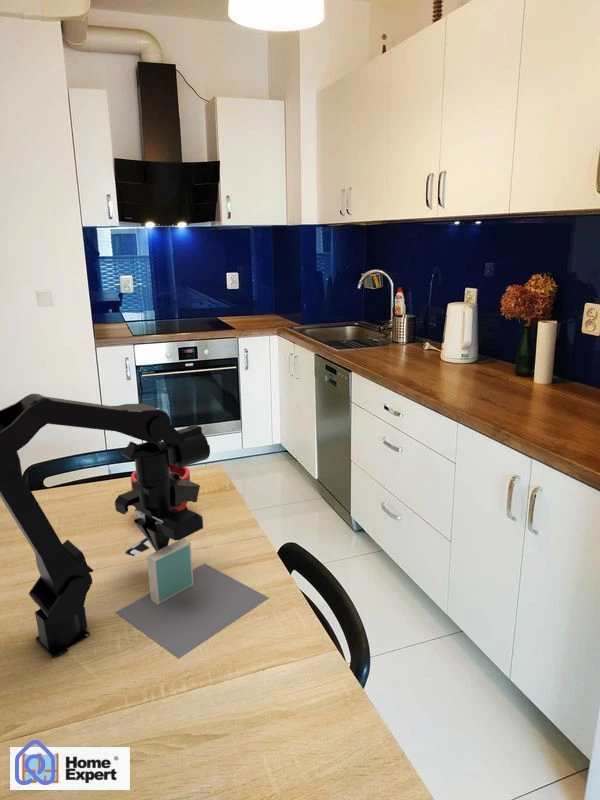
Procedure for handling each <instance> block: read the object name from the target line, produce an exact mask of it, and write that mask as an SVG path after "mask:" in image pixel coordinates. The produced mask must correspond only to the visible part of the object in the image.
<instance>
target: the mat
mask: <svg viewBox="0 0 600 800" xmlns="http://www.w3.org/2000/svg"><path fill="white" fill-rule="evenodd" d="M192 571H193V585H191V586H190V587H188V588H186V589H184V590H183V591H181V592H179V593H177V594H176V595H174V596H172V597H170V598H169V599H167V600H165V601H163V602H162V603H160V604H158V605H157V604H156V603H154V602H153V601H151V595H150V593H148V594H146V595H145V596H142V597H141V598H138V599H137V600H135V601H133V602H131V603H130V604H128V605H125V606H124V607H122V608H121V609H118V610H117V611H115V612H114V613H115V614H117V615H118V616H119V617H121V618H123V620H125V621H126V622H128V623H129V624H130V625H132V626H133V627H134V628H136V629H137V630H139V631H140V632H141V633H142V634H144V635H145V636H147V637H148V638H150V639H151V640H152V641H154V642H155V643H156V644H158V645H159V646H160V647H162V648H163V649H164V650H166V651H167V652H169V654H171V655H172V656H174V657H175V658H177V659H178V660H179V659H181V658H182V657H184V656H185V655H186V654H188V653H190V652H191V651H193V650H194V649H196V648H197V647H199V646H200V645H201V644H203V643H205V642H206V641H208V640H209V639H210V638H212V637H214V636H215V635H216V634H218V633H219V632H221V631H222V630H224V629H226V628H227V627H228V626H230V625H232V624H233V623H234V622H236V621H238V620H239V619H241V618H243V616H246V614H248V613H249V612H251V611H253V609H255V608H257V607H259V606H260V605H261V604H263V603H264V602H265V601H267V600H269V599H270V597H269V596H267V595H265V594H263V593H261V592H259V591H257V590H255V589H253V588H252V587H251V586H248V585H246V584H244V583H243V582H240V581H239V580H237V579H236V578H235V579H234V578H233V577H231V576H229V575H228V574H225V573H223V572H221V571H219V569H216V568H214V567H212V566H210V565H208V564H206V563H203V564H201V565H199V566H197V567H195V568H194V569H192Z"/></svg>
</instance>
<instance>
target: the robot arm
mask: <svg viewBox="0 0 600 800" xmlns="http://www.w3.org/2000/svg"><path fill="white" fill-rule="evenodd" d="M171 423H172V422H171V418H170V416H169V414H168V412H166V411H164V410H162V409H159V408H157V407H153V406H150V405H149V404H146V403H125V404H120V405H106V404H99V403H91V402H87V401H77V400H72V399H71V400H70V399H65V398H57V397H50V396H44V395H42V394H40V393H30V394H27V395H26V396H24V397H23V398H21V399H19V401H16V402H14V403H13V404H11V405H8V406H6V407H4V408H2V409H0V499H1V500H2V502H3V503H4V506H5V507H6V508H7V510H8V512H9V513H10V515H11V517H12V518H13V519H14V521H15V523H16V525H17V526H18V528H19V529H20V531H21V532H22V534H23V536H24V537H25V539H26V541H27V542H28V544H29V546H30V548H31V549H32V551H33V553H34V555H35V561H36V566H37V570H38V572H39V575H40V576H39V578H38V579H37V581H36V582H35V583H34V585H33V587H31V589H30V590H29V592H28V595H29V597H30V598H31V600H32V601H33V602H34V603H35V604H36V605H37V606H38V607H39V609H37V610H36V611H34V616H35V621H36V625H37V631H38V636H36V637H35V642H36V643H37V644H38V645H39V646H40V647H41V648H42V649H43V650H44V651H46V653H47V654H49V655H50V656H51V657H52V658H56V657H58V656H60V655H62V654H63V653H66V652H68V651H69V648H71V647H73V646H74V645H76V644H78V643H80V642H82V641H83V640H85V639H87V638H88V637H90V636H91V632H89V631H88V630H87V629H88V626H89V625H88V622H87V614H86V613H87V612H86V607H85V602H86V598H87V593H88V592H89V590H90V588H91V585H93V577H92V575H91V573H93V572H94V569H93V568H92V567H90V565H88V563H87V561H86V557H85V555H84V552H82V551H81V549H79V547H77V546H76V545H75V544H74V543H72V542H71V540H69V539H66V540H65V541H64V542H61V539H60V538H59V536H58V535H57V533H56V531H55V529H54V527H53V526H52V524H51V522H50V521H49V519H48V518H47V516H46V514H45V512H44V511H43V509H42V507H41V506H40V504H39V502H38V501H37V499H36V497H35V495H34V494H33V492H32V490H31V488H30V486H29V485H28V483H27V482H26V480H25V478H24V476H23V473H22V464H21V459H20V456H19V453H18V451H20V450H21V449H22V448H24V447H26V445H28V444H29V442H30V441H31V440H32V439H33V438H34V437H35V436H36V434H37V433H38V432H40V430H41V429H43V428H44V427H45V426H46V425H56V426H65V427H73V428H83V429H91V430H101V431H109V432H116V433H120V434H123V435H126V436H128V437H132V438H135V439H137V440H141V441H143V442H141V443H135V442H134V441H129V443H128V445H127V446H126V447H125V448H124V449H123V450H122V451H121V456H123V457H125V458H126V459H128V460H131V461H134V464H135V470H136V475H137V481H136V482H133V483H132V484H133V488H134V490H132V489H131V490H128V491H126V492H124V493H121V494H119V495H118V496H117V497H116V499H115V501H114V506H115V511H116V512H118V513H120V514H121V515H126V514H128V512H129V506H132V507H135V510H134V512H135V513H136V519H134V520H133V523H134V524H135V525H136V526H137V527H138V528H139V530H140V531H141V532H142V534H143V535H144V536H145V538H147V539H148V541H149V542H150V543H151V545H152V546H153V547H152V548H153V549H154V552H156V551H158V550H160V549H162V548H164V547H166V546H168V545H169V542H170V540H173V541H179V540H181V539H183V538H184V539H186V538H187V537H188V536H191V535H193V534H194V533H197V532H198V531H200V530H203V528H204V520H203V518H204V517H203V516H202V515H201V514H199V513H198V512H195V511H192V510H190V509H183V510H181V511H179V510H176V509H174V508H173V507H179V506H181V502H187V503H188V502H192V503H197V502H198V497H199V493H200V487H201V485H200V484H198V483H196V482H192V481H191V480H190V481H188V480H184V479H180V478H181V477H180V475H179V474H177V473H174V472H170V466H169V463H170V464H172V465H174V466H175V467H176V468H182V467H185V466H186V467H187V466H190V465H193V464H196V463H200V462H202V461H206V460H208V459H209V457H210V455H211V446H210V444H209V442H208V439H207V437H206V435H205V434H204V433H203V429H202V427H201V426H200V425H198V424H192V425H190V426H187V427H185V428H182V429H178V430H177V429H176V428H175V427H174V426H173V425H172V424H171Z"/></svg>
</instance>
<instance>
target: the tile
mask: <svg viewBox="0 0 600 800" xmlns="http://www.w3.org/2000/svg"><path fill="white" fill-rule="evenodd" d="M146 561H147V571H148V572H147V574H148V582H149V583H148V584H149V594H150V595H151V601H153V602H154V603H156V604H157V605H158V604H160V603H162V602H163V601H165V600H167V599H169V598H170V597H172V596H174V595H176V594H177V593H179V592H181V591H183V590H184V589H186V588H188V587H190V586H191V585H193V571H192V570H193V560H192V543H191V541H189V540H187V539H186V538H183V539H181V540H176V541H174V542H173V543H171V544H168V546H166V547H164V548H162V549H160V550H158V551H154V552H152V553H150V554H148V555H146Z"/></svg>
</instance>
